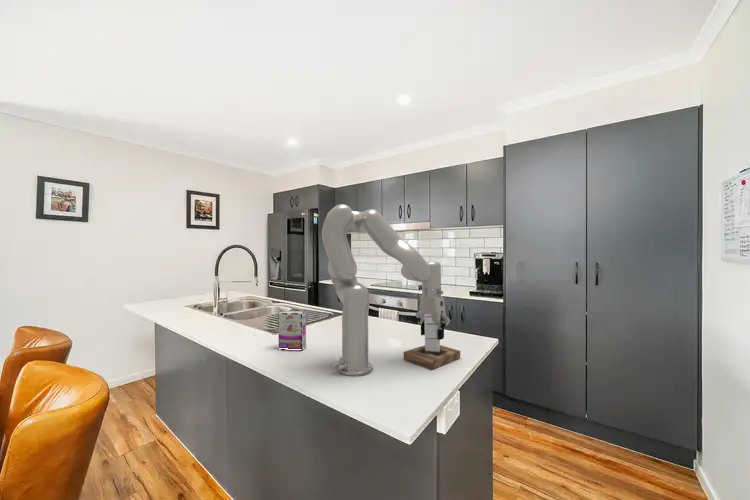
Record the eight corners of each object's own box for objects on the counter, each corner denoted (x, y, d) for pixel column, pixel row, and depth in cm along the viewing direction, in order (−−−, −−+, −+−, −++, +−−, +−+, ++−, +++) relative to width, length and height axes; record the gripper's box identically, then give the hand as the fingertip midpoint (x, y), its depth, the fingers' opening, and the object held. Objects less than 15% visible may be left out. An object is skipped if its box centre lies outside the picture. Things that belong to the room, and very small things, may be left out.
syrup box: (439, 352, 115) (439, 314, 115) (424, 351, 116) (424, 313, 116) (439, 347, 120) (439, 311, 120) (425, 346, 122) (424, 310, 122)
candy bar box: (306, 347, 133) (306, 311, 133) (302, 351, 128) (301, 313, 128) (283, 346, 135) (283, 310, 135) (277, 350, 130) (277, 312, 130)
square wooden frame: (431, 370, 107) (431, 361, 107) (403, 359, 118) (403, 352, 118) (460, 358, 119) (460, 350, 119) (432, 349, 129) (432, 342, 129)
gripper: (455, 293, 114) (456, 339, 114) (420, 289, 127) (421, 330, 127) (443, 295, 109) (444, 343, 109) (408, 291, 122) (409, 334, 122)
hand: (432, 336), depth 118 cm, fingers closed on syrup box, 7 cm apart
